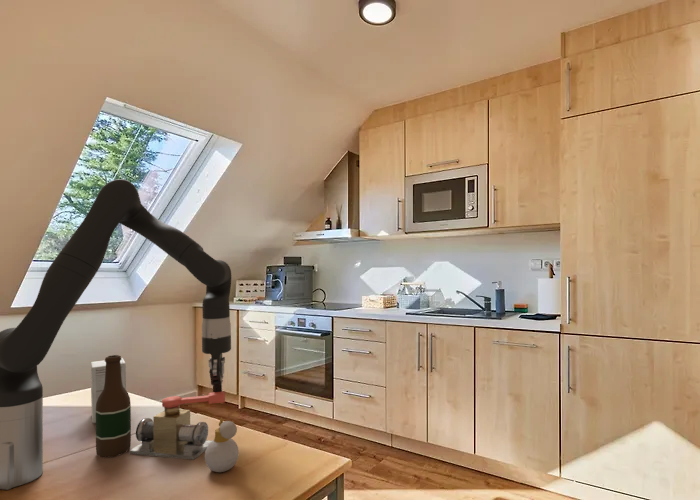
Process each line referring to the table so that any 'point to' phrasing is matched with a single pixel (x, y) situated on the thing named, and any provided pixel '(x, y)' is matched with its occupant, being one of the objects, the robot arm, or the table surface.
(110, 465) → the table surface
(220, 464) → the perfume bottle
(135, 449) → the valve
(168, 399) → the lever
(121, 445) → the beer bottle
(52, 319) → the robot arm
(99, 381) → the supplement box
